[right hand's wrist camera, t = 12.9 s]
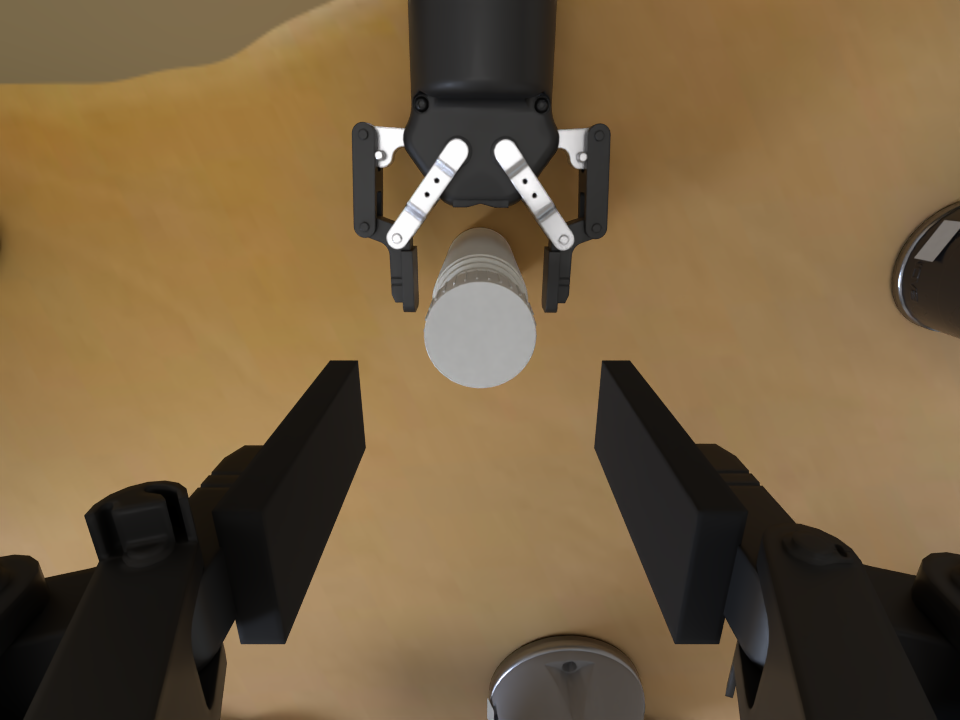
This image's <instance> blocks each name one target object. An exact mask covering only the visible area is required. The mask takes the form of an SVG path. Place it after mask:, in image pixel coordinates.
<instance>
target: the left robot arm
mask: <svg viewBox="0 0 960 720" xmlns="http://www.w3.org/2000/svg"><path fill="white" fill-rule="evenodd" d="M556 9H557V0H408V17H409V46H410V75H411V114H410V118H409V121H408V123H407V125H406V127H405V128H392V127H378V126H374V125H372V124H370V123H365V122H360V123H357V124H356V125H355V126H354V127H353V130H352V160H353V208H354V230H355V232H356V233H357V234H358V235H359V236H360V237H363V238H367V237H368V238H371V239H374V240H376V241H379V242H382V243H383V244H384V245H386V247H387V248H388V250H389V253H390V269H391V288H392V296H393V298H394V300H395V302H403V310H404V312H416V310H417V308H418V305H419V291H418V262H417V246H413V236H414V235H415V233H416V232H417V231H418V229H419V228H420V226H421V225H422V223H423V222H424V221H425V219H426V218H427V216H428V215H429V214H430V213H431V211H432V210H433V208H434V207H435V206H436V204H437V203H438V201H439V200H440V199H441V200H443V201H444V202H445V203H447V204H449V205H452V206H453V207H469V206H473V205H477V204H484V205H488V206H491V207H495V208H509V206H511V205H514V204H516V203H517V202H519V201H520V200H522V202H523V203H524V204H525V206H526V207H527V209H528V210H529V212H530V213H531V215H532V216H533V217H534V219H535V220H536V222H537V223H538V225H539V226H540V227H541V229H542V230H543V232H544V233H545V235H546V236H547V238H548V239H549V242H548V246H544V265H543V284H542V308H543V310H544V312H545V313H556V312H557V306H558V303H565V302H566V300H567V298H568V296H569V285H570V271H571V257H572V252H573V250H574V248H575V247H576V246H577V245H578V244H580V243H583V242H585V241H588V240H591V239H599V238H601V237H603V236H604V235H605V233H606V231H607V216H608V190H609V163H610V136H611V135H610V130H609V128H608V127H607V126H606V125H604V124H601V123H600V124H596V125H593V126H590V127H588V128H582V129H564V130H558V129H557V127H556V125H555V123H554V120H553V116H552V86H553V67H554V48H555V28H556ZM402 147H405V149H406V151H407V153H408V154H409V156H410V157H411V158H412V160H413V161H414V163H415V164H416V165H417V167H418V168H419V170H420V171H421V173H422V174H423V175H424V177H425V178H424V179H423V181H422V182H421V184H420V185H419V186H418V188H417V189H416V191H415V192H414V194H413V195H412V197H411V198H410V200H409V201H408V203H407V204H406V206H405V208H404V210H403V211H402V212H401V214H400V215H399V217H398V218H397V220H396V221H393V220H390V219H388V218H385V217H383V167H389V166H390V165H392V163H393V162H394V159H395V154H396V152H397V151H398V150H399V149H400V148H402ZM557 149H561V150H563V151H564V152H565V153H566V155H567V160H568V163H569V165H570V166H571V167H572V168H574V169H579V193H578V218H577V219H574V220H571V221H569V222H565V221H564V219H563V218H562V216H561V215H560V213H559V212H558V210H557V209H556V207H555V205H554V203H553V202H552V200H551V199H550V197H549V195H548V194H547V192H546V191H545V189H544V188H543V186H542V185H541V183H540V182H539V180H538V179H537V178H538V176H539V175H540V173H541V172H542V171H543V169H544V168H545V167H546V165H547V164H548V163H549V161H550V160H551V158H552V157H553V156H554V154H555V153H556V151H557ZM892 292H893V297H894V300H895V303H896V305H897V307H898V309H899V310H900V312H901V313H902V314H903V315H904V316H905V317H906V318H907V319H908V320H909V321H911V322H912V323H914V324H916V325H918V326H921V327H924V328H927V329H929V330H933V331H938V332H942V333H945V334H948V335H951V336H954V337H956V338H959V339H960V202H958V203H955V204H953V205H950V206H948V207H946V208H944V209H942V210H941V211H939V212H937V213H936V214H934V215H933V216H931V217H930V218H929V219H927V220H926V221H925V222H924V223H923V224H922V225H921V226H920V227H919V228H917V230H916V231H915V232H914V233H913V234H912V235H911V237H910V238H909V239H908V240H907V242H906V244H905V245H904V247H903V248H902V250H901V252H900V254H899V256H898V259H897V261H896V264H895V267H894V271H893V277H892Z"/></svg>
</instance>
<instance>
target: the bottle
mask: <svg viewBox="0 0 960 720" xmlns="http://www.w3.org/2000/svg"><path fill="white" fill-rule="evenodd" d="M477 269H478V271H487V270H489V271H490V272H494V273H500V274H501V275H503V276H504V277H506V278H510V280H511V281H512V282H513V283H515V284H516V285H517V284H518V285H519V288H520V290H521V291H522V292H523V293H525V295H526V298H527V300H528V294H527V289H526V286H525V283H524V280H523V278H522V275H521V273H520V270H519V268H518V265H517V263H516V260H515V258H514V255H513V253H512V250H511V248H510V245H509V244H508V242H507V241H506V239H505V238H504V237H503V236H502V235H500V234H499V233H497V232H496V231H494V230H491V229H488V228H472V229H469V230H467V231H464V232H463V233H461V234H460V235H459V236H457V238H456V239H455V240H454V241H453V242H452V244H451V246H450V248H449V251H448V253H447V256H446V258H445V261H444V263H443V266H442V268H441V271H440V274H439V276H438V279H437V281H436V284H435V287H434V291H433V298H435V296H436V294H437V291H438V289H441V288H442V287H443V286H444V285H445V282H446V281H447V282H448V281H450V280H451V279H453V278H454V277H455V275H457V276H458V275H460V274H463V273H465V271H467V272H470V271H476V270H477ZM433 298H432V299H433Z"/></svg>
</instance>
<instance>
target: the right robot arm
mask: <svg viewBox="0 0 960 720" xmlns="http://www.w3.org/2000/svg"><path fill="white" fill-rule="evenodd" d="M365 448H366V446H365V434H364V423H363V412H362V401H361V390H360V379H359V367H358V361H329V363H328V364H327V365H326V366H325V368H324V369H323V370H322V372H321V373H320V374H319V375H318V377H317V378H316V379H315V380H314V382H313V383H312V384H311V386H310V387H309V388H308V389H307V391H306V392H305V393H304V394H303V396H302V397H301V398H300V400H299V401H298V402H297V403H296V405H295V406H294V407H293V408H292V410H291V411H290V412H289V414H288V415H287V416H286V417H285V419H284V420H283V421H282V422H281V424H280V425H279V426H278V427H277V429H276V430H275V431H274V433H273V434H272V435H271V436H270V438H269V439H268V440H267V441H266V443H265V444H264V445H245V446H243V447H242V448H240V449H238V450H237V451H235V452H233V453H232V454H230V455H228V456H227V457H225V458H224V459H223V460H222V461H221V462H220V463H219V465H218V466H217V467H216V468H215V469H214V470H213V471H212V474H211V475H209V476H208V477H207V478H206V479H205V480H204V481H203V483H202V484H201V487H200V488H197V489H196V490H195V492H194V493H193V494H192V495H191V496H190V497H188V493H187V489H186V488H185V487H184V486H182V485H181V484H179V483H176V482H170V481H154V482H146V483H142V484H138V485H134V486H130V487H127V488H125V489H122V490H120V491H117V492H115V493H113V494H110V495H109V496H107V497H105V498H104V499H102V500H101V501H99V502H98V503H96V504H94V505H93V507H92V508H91V509H90V510H89V511H88V512H87V513H86V514H85V515H84V516H85V519H86V523H87V526H88V529H89V532H90V535H91V538H92V541H93V544H94V547H95V550H96V553H97V556H98V559H99V563H98V565H97V567H94V568H90V569H85V570H80V571H76V572H71V573H66V574H61V575H57V576H52V577H47V578H44V575H43V573H42V570H41V567H40V565H39V562H38V561H37V560H35V559H34V558H32V557H31V556H26V555H9V556H3V557H0V720H220V715H221V707H222V698H223V690H224V682H225V674H226V666H227V661H226V654H225V649H224V645H223V641H224V639H225V637H226V635H227V634H228V632H229V630H230V628H231V626H232V624H233V623H234V621H235V620H236V625H237V629H238V634H239V638H240V643H241V644H285V643H286V641H287V638H288V636H289V633H290V631H291V628H292V626H293V624H294V621H295V619H296V616H297V614H298V611H299V609H300V607H301V604H302V602H303V599H304V597H305V594H306V592H307V589H308V587H309V585H310V582H311V580H312V577H313V575H314V572H315V570H316V568H317V565H318V563H319V560H320V558H321V555H322V553H323V551H324V548H325V546H326V543H327V541H328V538H329V536H330V534H331V531H332V529H333V526H334V524H335V521H336V519H337V517H338V514H339V512H340V509H341V507H342V504H343V502H344V500H345V497H346V495H347V492H348V490H349V487H350V485H351V483H352V480H353V478H354V475H355V473H356V470H357V468H358V465H359V463H360V461H361V458H362V456H363V453H364V451H365ZM594 448H595V451H596V453H597V456H598V458H599V461H600V463H601V465H602V468H603V470H604V473H605V475H606V478H607V480H608V483H609V485H610V487H611V490H612V492H613V495H614V497H615V500H616V502H617V504H618V507H619V509H620V512H621V514H622V517H623V519H624V521H625V524H626V526H627V529H628V531H629V534H630V536H631V538H632V541H633V543H634V546H635V548H636V551H637V553H638V555H639V558H640V560H641V563H642V565H643V568H644V570H645V572H646V575H647V577H648V580H649V582H650V585H651V587H652V589H653V592H654V594H655V597H656V599H657V602H658V604H659V607H660V609H661V611H662V614H663V616H664V619H665V621H666V624H667V626H668V628H669V631H670V633H671V636H672V638H673V641H674V643H675V644H719V643H720V638H721V634H722V629H723V625H724V620H725V618H726V620H727V622H728V624H729V625H730V627H731V629H732V631H733V633H734V634H735V636H736V638H737V645H736V649H735V653H734V657H733V662H732V666H731V670H730V674H729V678H728V683H727V688H726V695H725V696H728V697H731V698H733V695H734V691H735V687H736V689H737V697H738V705H739V713H740V720H960V555H959V554H954V553H948V552H944V553H931V554H930V555H928V556H927V557H925V558H924V559H923V560H922V562H921V565H920V567H919V570H918V573H917V575H916V576H915V575H910V574H905V573H900V572H896V571H891V570H886V569H881V568H877V567H872V566H868V565H864V564H862V562H861V560H860V559H859V558H858V556H857V555H856V554H855V552H854V551H853V550H852V549H851V548H850V547H849V546H847V545H846V544H845V543H843V542H842V541H841V540H839V539H838V538H836V537H834V536H832V535H830V534H828V533H826V532H824V531H822V530H820V529H816V528H813V527H809V526H806V525H802V524H796V523H795V522H794V521H793V519H792V518H791V517H790V516H789V515H788V514H787V513H786V512H785V511H784V509H783V508H782V507H781V506H780V505H779V504H778V503H777V502H776V500H775V499H774V498H773V497H772V496H771V495H770V494H769V493H768V492H767V490H766V489H765V488H764V487H763V486H760V483H759V481H758V480H757V479H756V478H755V477H754V476H753V475H752V474H749V470H748V469H747V468H746V467H745V466H744V465H743V464H742V462H741V461H740V460H739V459H738V458H737V457H736V456H735V455H733V454H731V453H730V452H728V451H726V450H725V449H723V448H722V447H720V446H718V445H717V444H695V443H694V441H693V440H692V439H691V438H690V436H689V435H688V434H687V433H686V431H685V430H684V429H683V427H682V426H681V425H680V424H679V422H678V421H677V420H676V419H675V417H674V416H673V415H672V414H671V412H670V411H669V410H668V408H667V407H666V406H665V405H664V403H663V402H662V401H661V400H660V398H659V397H658V396H657V394H656V393H655V392H654V391H653V389H652V388H651V387H650V386H649V384H648V383H647V382H646V380H645V379H644V378H643V377H642V375H641V374H640V373H639V372H638V370H637V369H636V368H635V366H634V365H633V364H632V363H631V361H602V367H601V379H600V390H599V401H598V412H597V423H596V434H595V446H594ZM489 699H490V702H489V700H488V698H487V719H488V720H644V713H645V698H644V692H643V688H642V685H641V682H640V679H639V675H638V673H637V670H636V668H635V666H634V665H633V663H632V662H631V661H630V659H629V658H628V657H627V656H626V655H625V654H624V653H622V652H621V651H620V650H618V649H617V648H615V647H613V646H612V645H610V644H608V643H605V642H603V641H600V640H597V639H593V638H588V637H582V636H556V637H549V638H545V639H541V640H538V641H534V642H532V643H529V644H527V645H525V646H523V647H521V648H519V649H518V650H516V651H514V652H513V653H512V654H510V655H509V656H508V657H507V658H506V659H505V660H504V661H503V662H502V663H501V664H500V665H499V666H498V668H497V669H496V671H495V673H494V675H493V677H492V680H491V683H490V689H489Z"/></svg>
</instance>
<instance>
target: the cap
mask: <svg viewBox="0 0 960 720" xmlns="http://www.w3.org/2000/svg"><path fill="white" fill-rule="evenodd" d="M533 315H534V314H533V311H532V308H531V306H530V303H528V300H527V298H526V295H525V293H523V292H522V291H521V290H520V288H519V285H518V284H517V285H516V284H515V283H513V282H512V281H511V280H510V278H506V277H504V276H503V275H501V274H500V273H494V272H490V271H489V270H487V271H478V269H477V270H476V271H470V272H467V271H465V273H463V274H460V275H458V276H457V275H455V277H454V278H453V279H451V280H450V281H448V282H447V281H446V282H445V285H444V286H443V287H442V288H441V289H438V291H437V294H436V296H435V298H433V299H432V302H431V304H430V307H429V310H428V313H427V316H426V318H425V321H426V324H425V328H424V339H425V346H426V350H427V352H428V355H429V357H430V359H431V361H432V362H433V364H434V365H435V367H436V368H437V369H438V370H439V371H440V372H441V373H442V374H443V375H444V376H445V377H447V378H448V379H450V380H452V381H454V382H456V383H458V384H460V385H463V386H467V387H473V388H488V387H493V386H497V385H500V384H503V383H505V382H507V381H509V380H511V379H512V378H513V377H515V376H516V375H517V374H519V373H520V372H521V371H522V370H523V368H524V367H525V366H526V365H527V363H528V362H529V360H530V358H531V356H532V354H533V351H534V348H535V343H536V322H535V320H534V317H533Z"/></svg>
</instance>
